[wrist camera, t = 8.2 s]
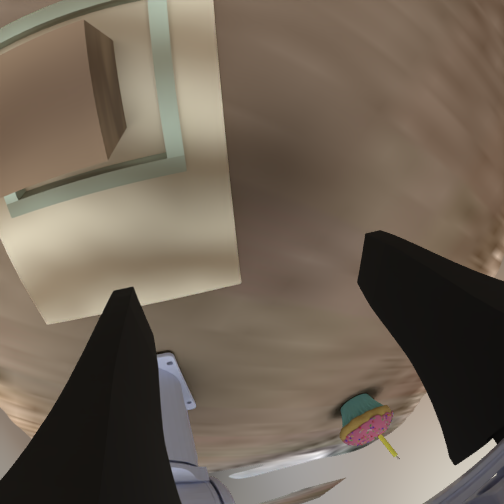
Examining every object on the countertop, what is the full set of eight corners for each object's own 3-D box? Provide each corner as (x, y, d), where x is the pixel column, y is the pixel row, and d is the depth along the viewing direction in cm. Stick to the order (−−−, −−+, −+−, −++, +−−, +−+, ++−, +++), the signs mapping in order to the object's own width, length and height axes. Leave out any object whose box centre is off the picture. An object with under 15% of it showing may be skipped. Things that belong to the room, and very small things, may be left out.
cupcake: (385, 379, 40) (425, 441, 30) (365, 407, 44) (397, 462, 35) (338, 396, 37) (376, 468, 28) (321, 423, 42) (352, 485, 32)
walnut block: (126, 127, 13) (107, 160, 8) (45, 153, 12) (-8, 201, 7) (113, 40, 10) (83, 19, 5) (27, 71, 9) (-38, 78, 5)
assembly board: (237, 274, 21) (246, 295, 19) (49, 314, 18) (44, 337, 16) (208, -17, 11) (215, -30, 9) (-36, 62, 8) (-57, 64, 6)
